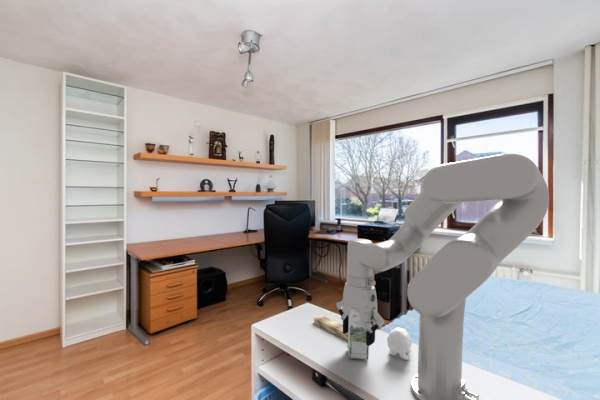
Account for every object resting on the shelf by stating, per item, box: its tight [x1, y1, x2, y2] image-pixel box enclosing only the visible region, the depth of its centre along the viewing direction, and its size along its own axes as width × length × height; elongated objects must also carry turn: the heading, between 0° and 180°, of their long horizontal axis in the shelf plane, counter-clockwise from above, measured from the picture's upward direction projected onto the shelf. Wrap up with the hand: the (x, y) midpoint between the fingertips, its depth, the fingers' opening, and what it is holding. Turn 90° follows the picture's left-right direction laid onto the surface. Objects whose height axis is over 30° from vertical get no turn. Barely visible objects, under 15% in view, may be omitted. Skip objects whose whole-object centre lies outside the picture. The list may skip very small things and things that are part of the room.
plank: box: [313, 314, 348, 341], centre depth 97 cm, size 22×4×2 cm, turn 42°
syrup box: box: [347, 308, 370, 361], centre depth 83 cm, size 6×6×14 cm
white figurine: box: [386, 326, 412, 361], centre depth 85 cm, size 6×8×12 cm
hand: (358, 337), depth 83 cm, fingers closed on syrup box, 8 cm apart
